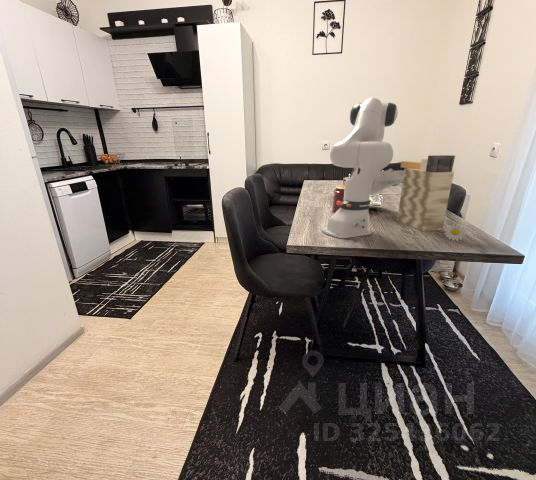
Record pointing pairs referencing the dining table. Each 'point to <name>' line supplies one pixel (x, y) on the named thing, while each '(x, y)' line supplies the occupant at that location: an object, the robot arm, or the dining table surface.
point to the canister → (338, 196)
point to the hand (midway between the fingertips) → (399, 169)
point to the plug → (415, 164)
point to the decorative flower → (454, 232)
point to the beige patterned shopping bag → (426, 194)
